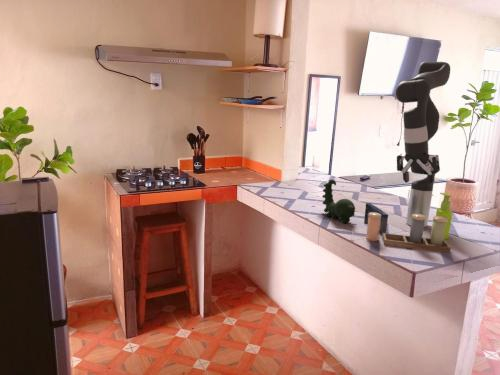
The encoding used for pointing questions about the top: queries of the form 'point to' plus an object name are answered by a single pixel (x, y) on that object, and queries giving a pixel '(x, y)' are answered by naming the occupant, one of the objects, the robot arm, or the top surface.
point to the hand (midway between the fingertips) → (418, 182)
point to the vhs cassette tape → (383, 219)
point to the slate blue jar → (417, 228)
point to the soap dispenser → (445, 213)
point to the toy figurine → (337, 204)
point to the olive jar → (438, 230)
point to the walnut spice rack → (404, 242)
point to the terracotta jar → (373, 226)
